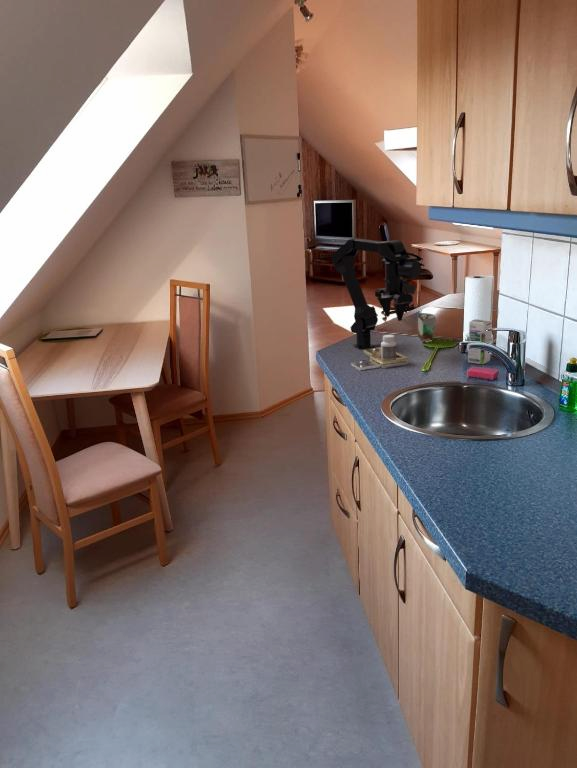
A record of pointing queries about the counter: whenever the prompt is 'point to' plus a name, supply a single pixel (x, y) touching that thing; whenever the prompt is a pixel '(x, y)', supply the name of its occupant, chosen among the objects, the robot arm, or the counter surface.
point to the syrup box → (479, 334)
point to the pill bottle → (388, 347)
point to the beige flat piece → (379, 360)
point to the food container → (426, 326)
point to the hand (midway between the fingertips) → (393, 318)
